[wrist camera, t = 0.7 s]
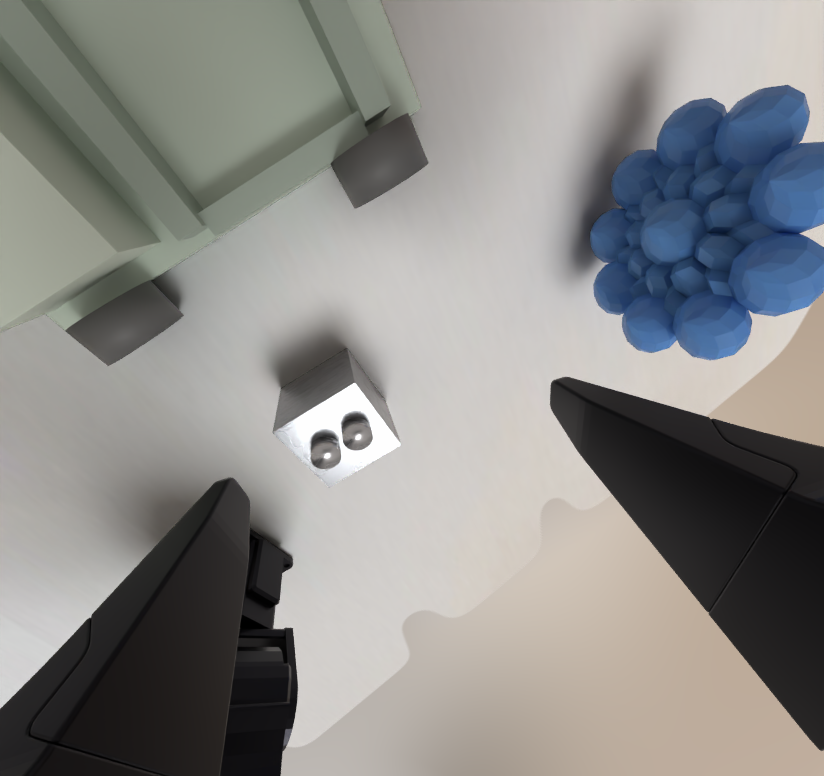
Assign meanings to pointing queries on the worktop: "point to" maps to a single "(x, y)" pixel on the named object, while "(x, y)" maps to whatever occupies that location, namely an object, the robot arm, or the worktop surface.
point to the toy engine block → (335, 419)
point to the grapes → (714, 225)
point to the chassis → (177, 141)
